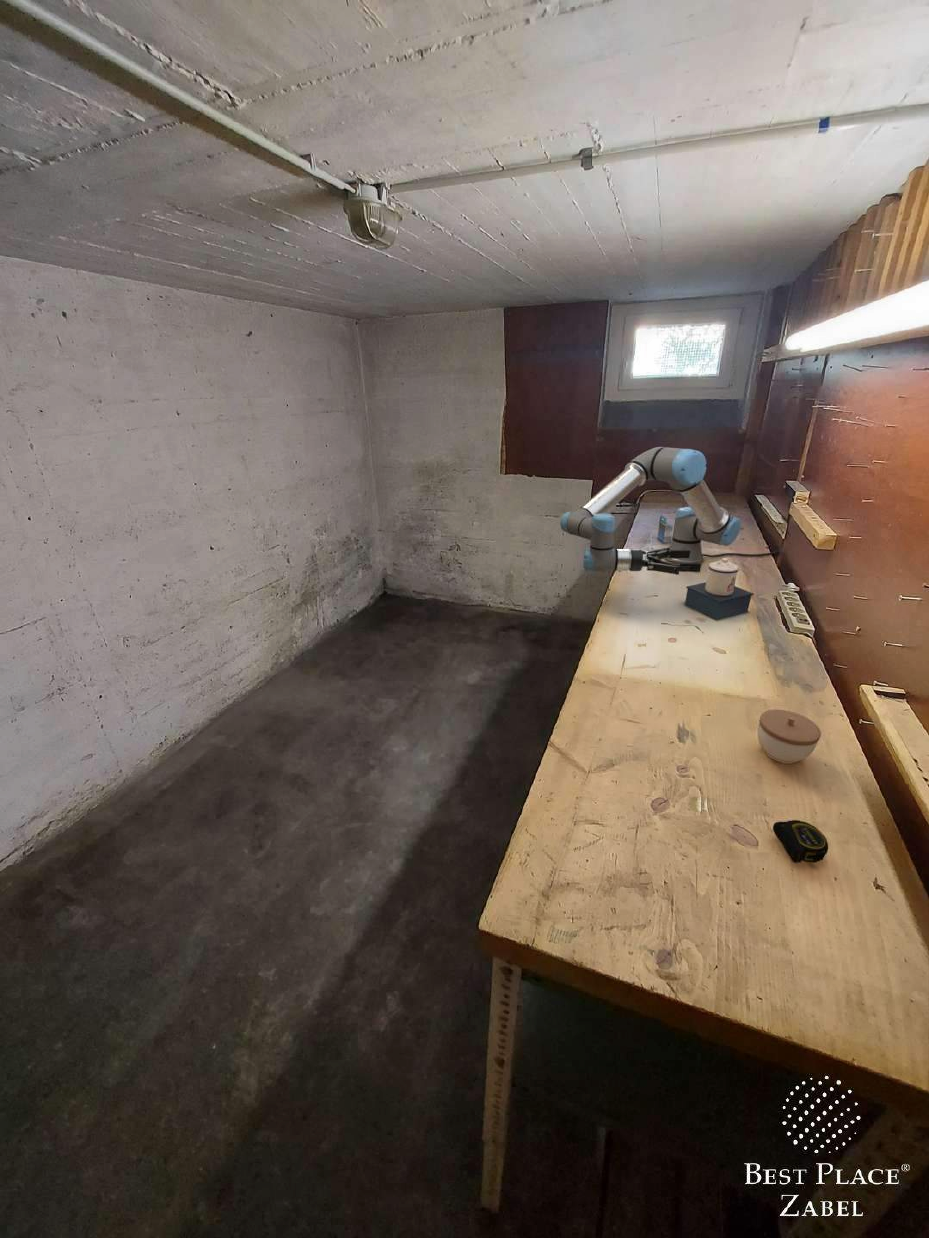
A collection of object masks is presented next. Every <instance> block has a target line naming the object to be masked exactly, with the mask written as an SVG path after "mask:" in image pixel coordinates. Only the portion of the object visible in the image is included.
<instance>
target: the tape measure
mask: <svg viewBox="0 0 929 1238" xmlns="http://www.w3.org/2000/svg"><path fill="white" fill-rule="evenodd" d="M772 831H773V833H774V835H775V836H776V838H777V839H778V841H779V842H780V843H781V844H782V847H783V848H784V850H785V852H786V854H787V855H788V857H789V858H790V861H792V863H794V864H801V863H802V862H803V863H809V864H810V863H811V864H812V863H813V864H814V863H818V862H820V861H823V860H824V858H825V856H826V855H827V854H828V851H829V843H828V840H827V838H826V836H825V835H824V834H823V832H822V831H820V830H819V829H818V828H817V827H816V826H814V825H813V824H811V823H809V822H806V821H802V820H799V819H792V820H787V821H776V822H775V823H773V826H772Z"/></svg>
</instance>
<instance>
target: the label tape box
mask: <svg viewBox="0 0 929 1238" xmlns="http://www.w3.org/2000/svg"><path fill="white" fill-rule="evenodd" d="M673 529H674V525H672V524H671V523H669V522H668V521H667V518H666V517H665V516H664V515H662V514H660V516H659V521H658V530H657V539H658V540H660V541H661V542H662V543H663V544H669V543H670V544H671V542H672V538H673Z"/></svg>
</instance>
